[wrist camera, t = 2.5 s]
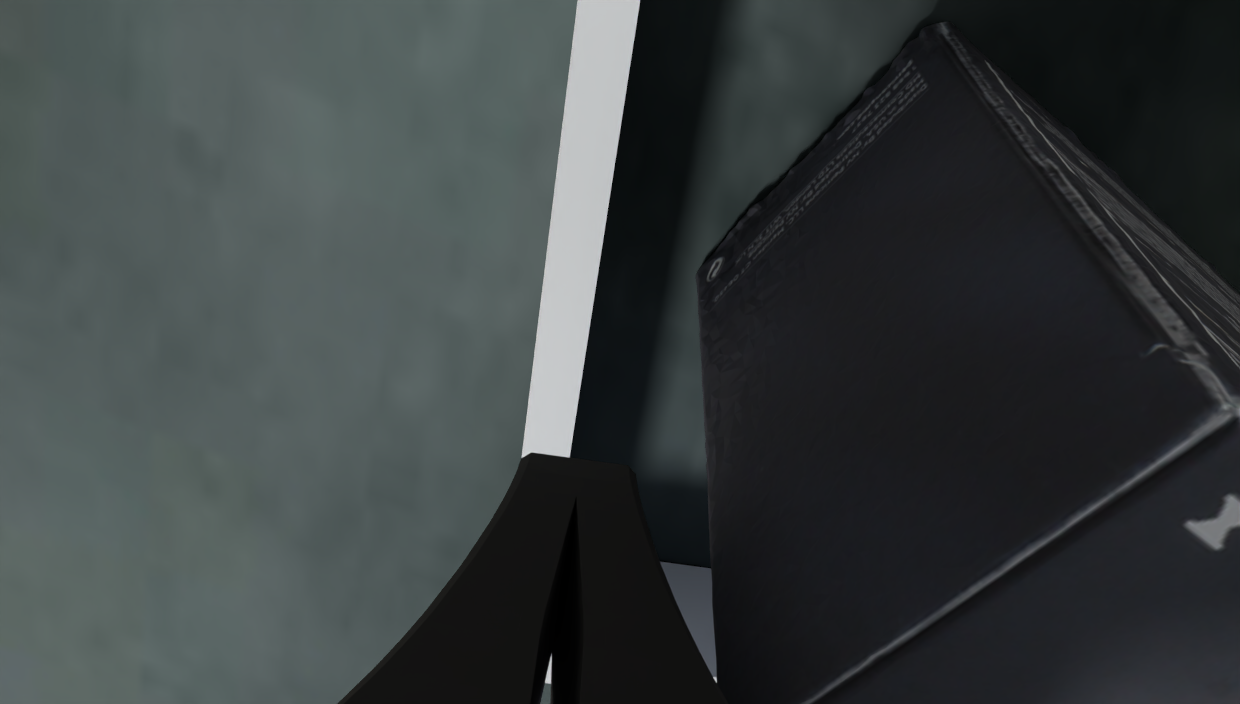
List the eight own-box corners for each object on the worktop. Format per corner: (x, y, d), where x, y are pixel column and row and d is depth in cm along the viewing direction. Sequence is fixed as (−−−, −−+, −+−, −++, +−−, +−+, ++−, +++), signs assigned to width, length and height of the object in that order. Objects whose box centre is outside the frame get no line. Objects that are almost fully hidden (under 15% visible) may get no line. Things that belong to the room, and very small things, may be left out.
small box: (669, 283, 19) (673, 789, 10) (935, 1, 16) (1266, 360, 7) (1045, 558, 22) (1299, 1125, 13) (1323, 363, 19) (1880, 918, 10)
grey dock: (1196, 660, 24) (1261, 776, 21) (513, 568, 23) (494, 676, 20) (1662, -47, 15) (1860, 3, 13) (615, -227, 15) (603, -212, 12)
